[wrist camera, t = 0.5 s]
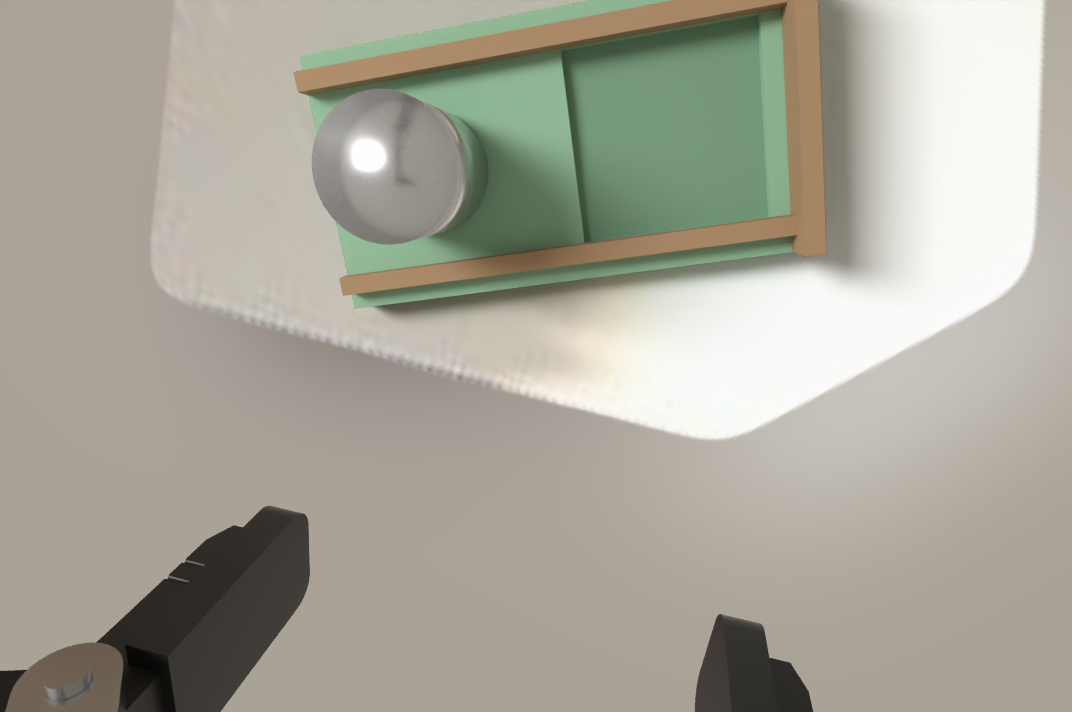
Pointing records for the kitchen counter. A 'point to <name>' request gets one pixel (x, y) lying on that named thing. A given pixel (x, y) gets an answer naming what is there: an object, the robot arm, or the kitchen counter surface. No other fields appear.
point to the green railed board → (603, 141)
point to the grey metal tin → (397, 167)
